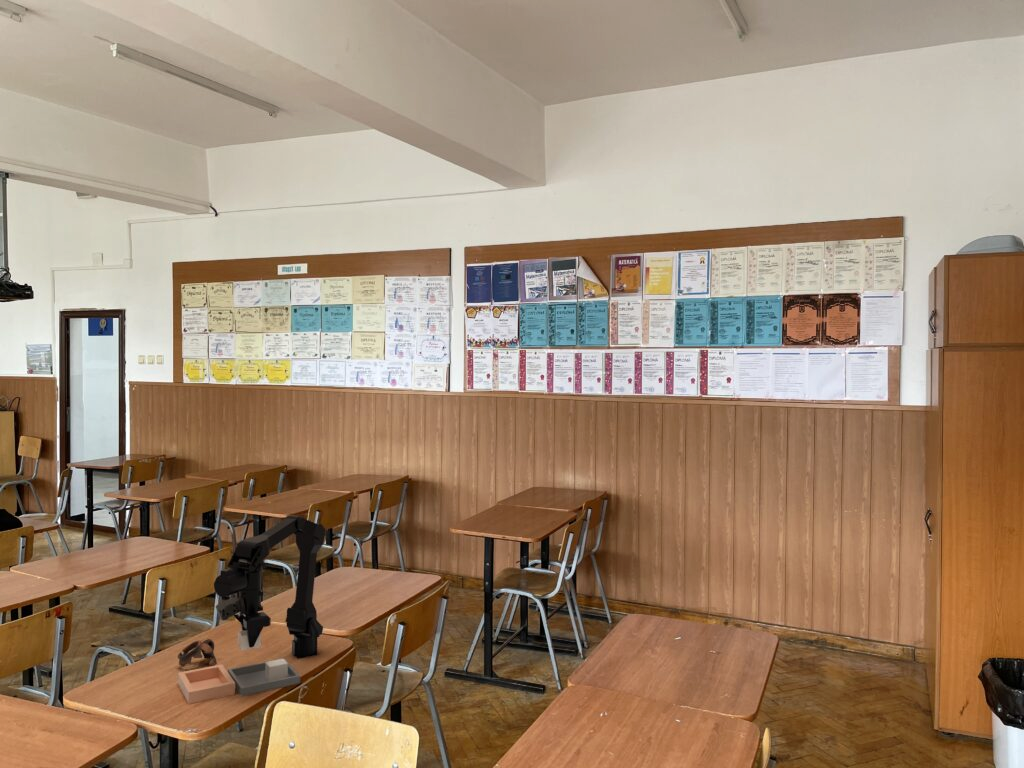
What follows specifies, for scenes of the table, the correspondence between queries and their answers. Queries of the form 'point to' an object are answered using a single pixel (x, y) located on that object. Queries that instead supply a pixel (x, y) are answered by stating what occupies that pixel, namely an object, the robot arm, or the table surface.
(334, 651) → the table surface
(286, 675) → the off-white rectangular prism
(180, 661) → the brown curved piece
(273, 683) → the parts tray
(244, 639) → the cream rectangular block
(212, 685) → the terracotta dish
